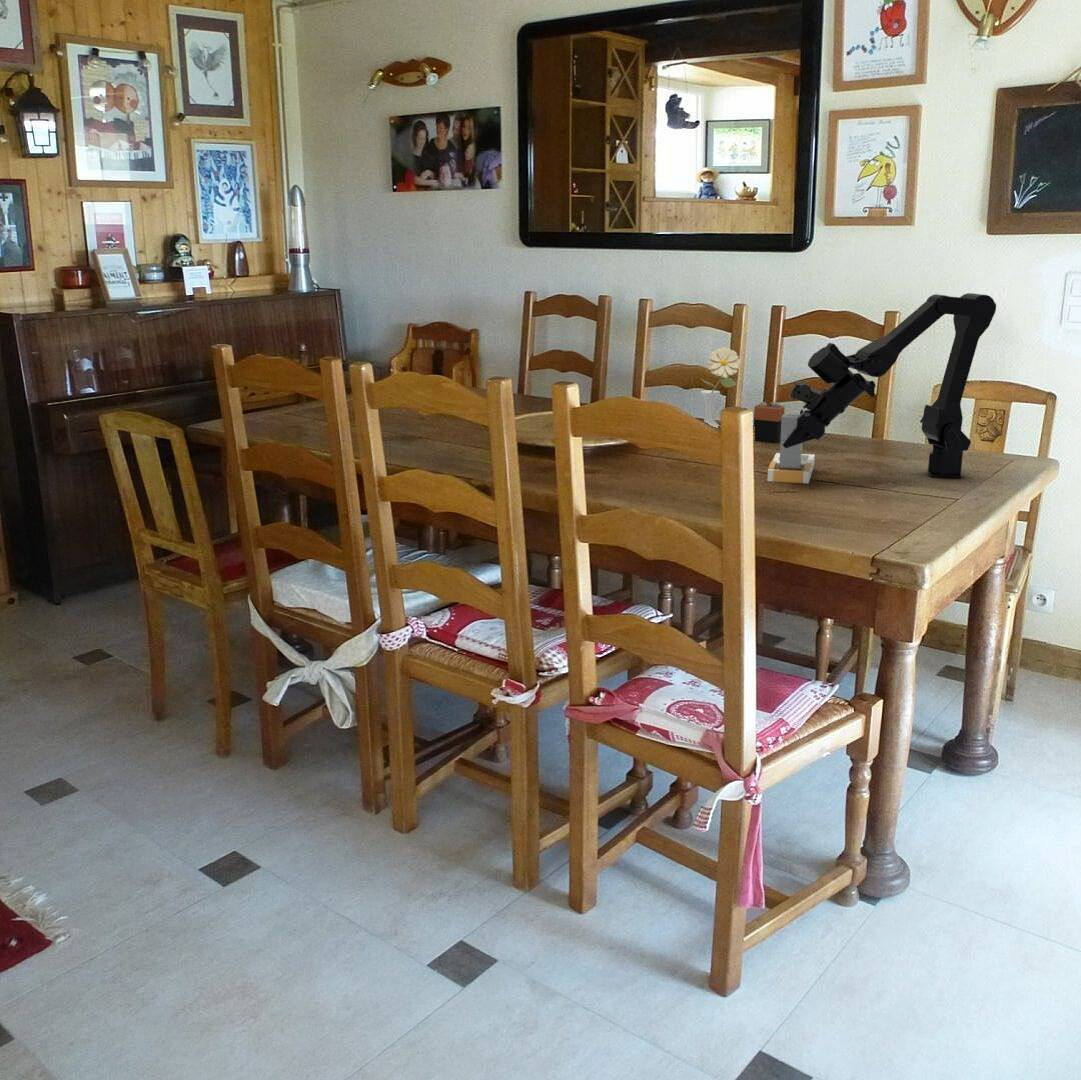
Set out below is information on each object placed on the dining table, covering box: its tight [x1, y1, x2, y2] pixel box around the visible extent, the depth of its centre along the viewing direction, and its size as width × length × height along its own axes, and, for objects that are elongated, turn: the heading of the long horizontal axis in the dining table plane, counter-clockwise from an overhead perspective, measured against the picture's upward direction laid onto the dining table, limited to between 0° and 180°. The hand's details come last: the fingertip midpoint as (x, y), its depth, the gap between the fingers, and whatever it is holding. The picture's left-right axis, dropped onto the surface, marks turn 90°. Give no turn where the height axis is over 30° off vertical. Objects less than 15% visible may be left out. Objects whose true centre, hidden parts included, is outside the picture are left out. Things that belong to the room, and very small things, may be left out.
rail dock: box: [766, 452, 816, 484], centre depth 242 cm, size 9×19×3 cm, turn 163°
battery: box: [753, 401, 786, 444], centre depth 277 cm, size 4×7×10 cm, turn 53°
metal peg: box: [779, 413, 803, 471], centre depth 236 cm, size 4×4×13 cm
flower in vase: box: [700, 346, 741, 428], centre depth 269 cm, size 13×11×25 cm
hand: (785, 444), depth 236 cm, fingers closed on metal peg, 4 cm apart
